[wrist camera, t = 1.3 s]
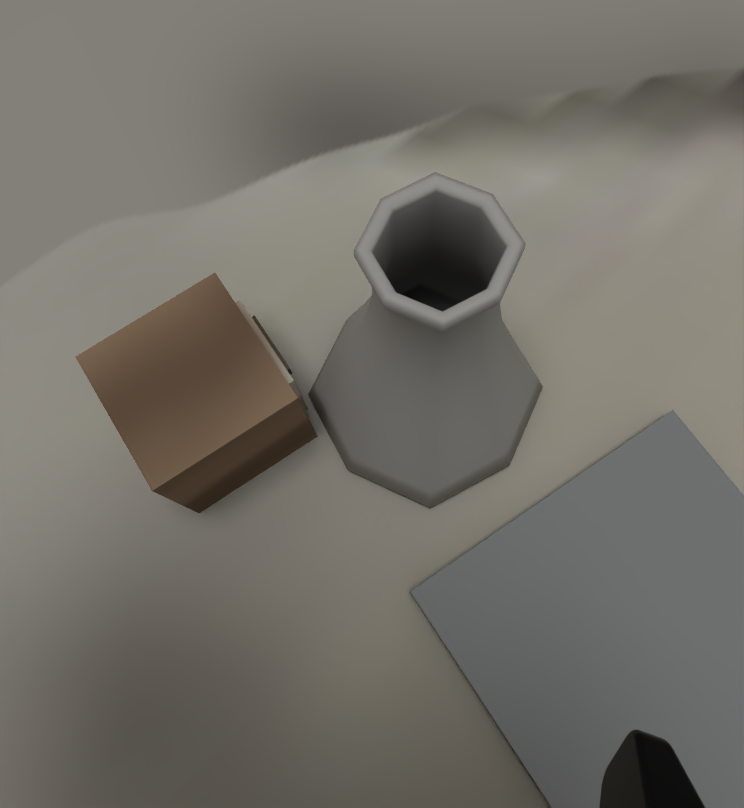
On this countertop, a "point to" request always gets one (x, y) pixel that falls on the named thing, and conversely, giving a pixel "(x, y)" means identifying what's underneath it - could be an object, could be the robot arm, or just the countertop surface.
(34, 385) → the countertop surface
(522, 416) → the flask
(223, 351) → the letter cube
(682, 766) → the robot arm
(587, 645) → the grey coaster
